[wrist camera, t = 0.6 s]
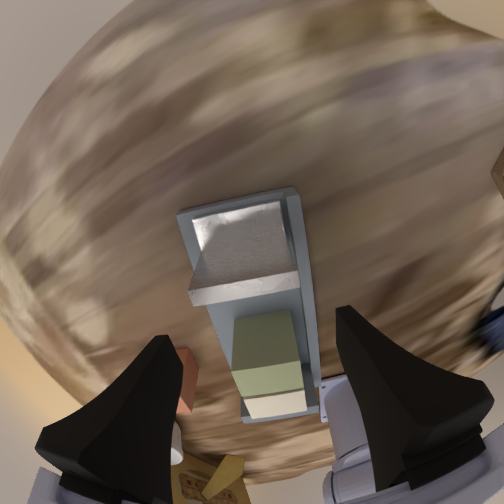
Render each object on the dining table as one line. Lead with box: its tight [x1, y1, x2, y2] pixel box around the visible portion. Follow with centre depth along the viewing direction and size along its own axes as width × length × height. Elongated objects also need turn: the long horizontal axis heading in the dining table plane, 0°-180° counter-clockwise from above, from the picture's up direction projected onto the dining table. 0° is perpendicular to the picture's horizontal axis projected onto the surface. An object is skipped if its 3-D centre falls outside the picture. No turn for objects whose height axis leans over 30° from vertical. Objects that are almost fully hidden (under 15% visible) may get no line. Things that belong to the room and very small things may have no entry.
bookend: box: [188, 199, 300, 307], centre depth 16 cm, size 3×6×6 cm, turn 102°
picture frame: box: [171, 452, 251, 504], centre depth 29 cm, size 23×9×15 cm, turn 34°
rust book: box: [175, 348, 199, 413], centre depth 22 cm, size 3×5×6 cm, turn 102°
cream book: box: [243, 387, 307, 419], centre depth 21 cm, size 3×4×6 cm
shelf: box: [176, 186, 321, 423], centre depth 19 cm, size 18×8×6 cm, turn 12°
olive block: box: [231, 309, 304, 397], centre depth 19 cm, size 3×4×6 cm
